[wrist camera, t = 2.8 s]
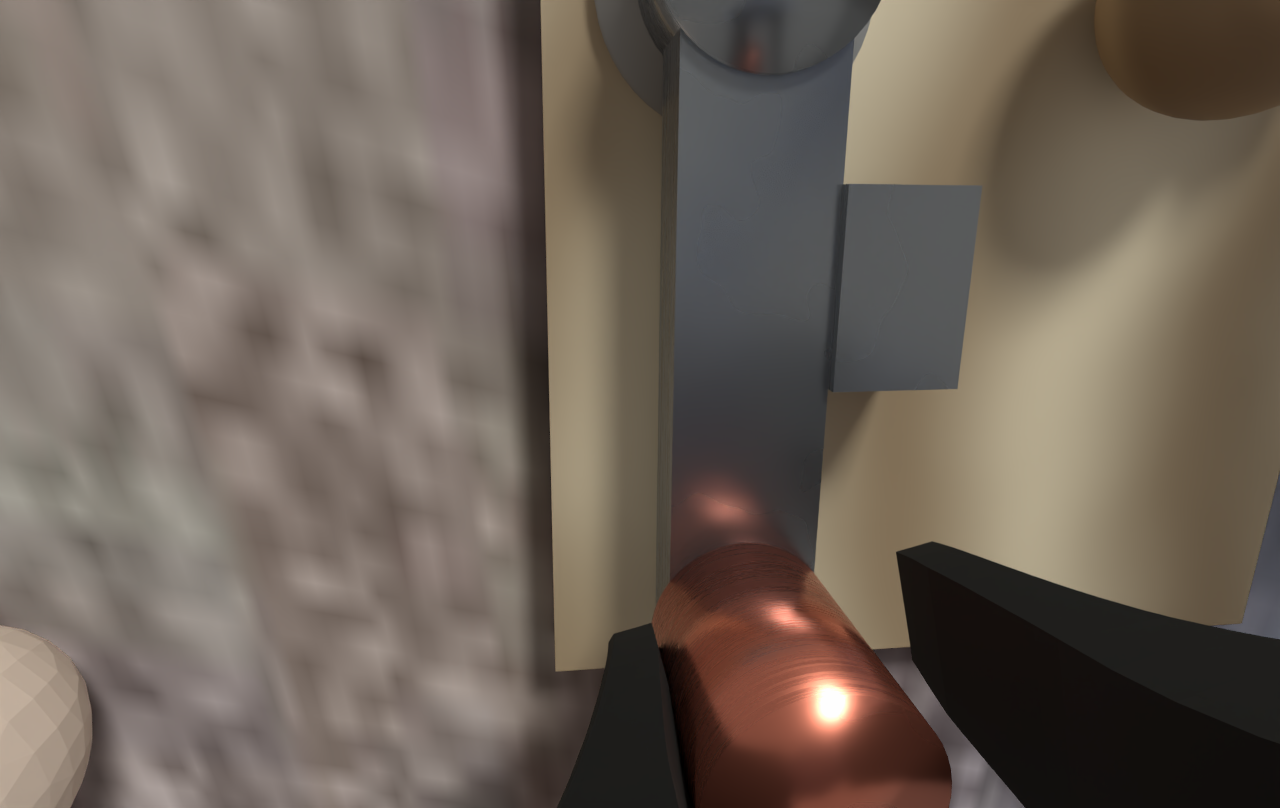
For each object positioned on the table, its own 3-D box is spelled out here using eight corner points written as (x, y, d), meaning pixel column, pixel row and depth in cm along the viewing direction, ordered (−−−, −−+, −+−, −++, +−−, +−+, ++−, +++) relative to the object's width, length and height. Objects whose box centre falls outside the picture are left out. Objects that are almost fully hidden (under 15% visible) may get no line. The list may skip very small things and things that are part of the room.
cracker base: (1362, -141, 13) (1803, -332, 9) (1194, 595, 17) (1436, 737, 12) (535, -213, 11) (531, -509, 7) (554, 636, 15) (559, 823, 10)
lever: (951, -128, 11) (1323, -440, 6) (874, 639, 14) (1064, 882, 9) (636, -151, 10) (730, -522, 5) (632, 656, 14) (687, 927, 8)
